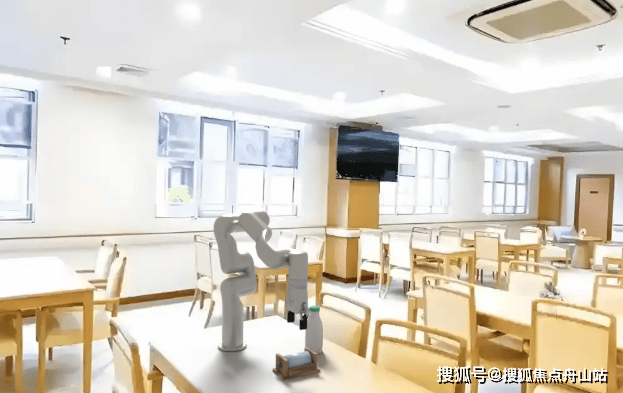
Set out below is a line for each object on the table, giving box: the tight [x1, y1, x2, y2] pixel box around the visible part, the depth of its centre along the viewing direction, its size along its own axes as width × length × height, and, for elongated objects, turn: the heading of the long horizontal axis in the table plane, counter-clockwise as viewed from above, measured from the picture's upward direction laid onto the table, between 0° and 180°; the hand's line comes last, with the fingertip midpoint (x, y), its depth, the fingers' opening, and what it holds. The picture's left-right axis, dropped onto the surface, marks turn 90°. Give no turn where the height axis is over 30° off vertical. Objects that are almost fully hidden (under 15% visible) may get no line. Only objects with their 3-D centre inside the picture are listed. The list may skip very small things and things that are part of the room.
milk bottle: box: [304, 305, 324, 355], centre depth 193 cm, size 8×8×20 cm
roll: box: [282, 351, 311, 369], centre depth 172 cm, size 10×6×6 cm, turn 122°
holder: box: [272, 346, 321, 381], centre depth 172 cm, size 10×16×7 cm, turn 122°
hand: (296, 325), depth 172 cm, fingers open, 9 cm apart
